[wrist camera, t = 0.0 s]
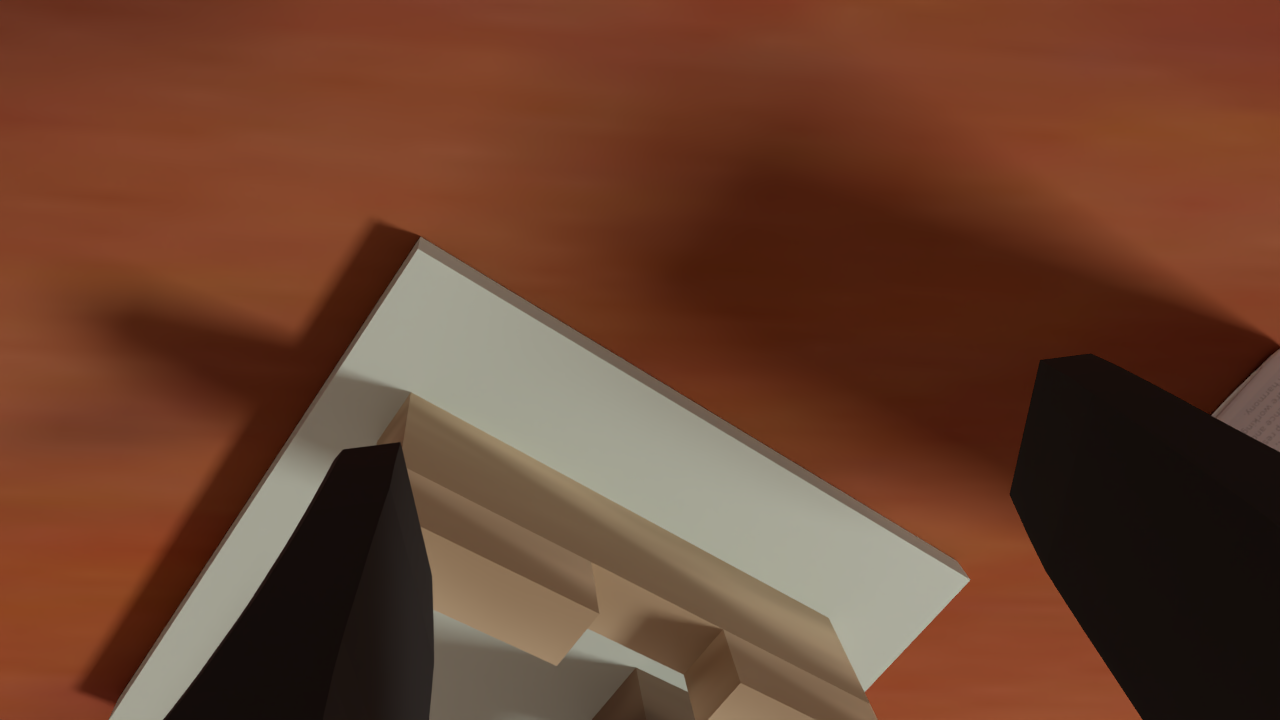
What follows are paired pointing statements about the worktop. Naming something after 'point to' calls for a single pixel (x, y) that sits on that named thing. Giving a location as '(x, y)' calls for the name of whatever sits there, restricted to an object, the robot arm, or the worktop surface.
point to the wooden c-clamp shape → (647, 700)
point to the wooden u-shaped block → (608, 580)
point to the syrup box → (1256, 404)
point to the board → (582, 450)
